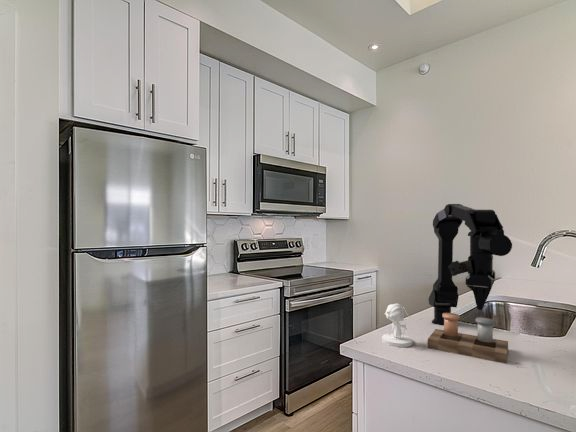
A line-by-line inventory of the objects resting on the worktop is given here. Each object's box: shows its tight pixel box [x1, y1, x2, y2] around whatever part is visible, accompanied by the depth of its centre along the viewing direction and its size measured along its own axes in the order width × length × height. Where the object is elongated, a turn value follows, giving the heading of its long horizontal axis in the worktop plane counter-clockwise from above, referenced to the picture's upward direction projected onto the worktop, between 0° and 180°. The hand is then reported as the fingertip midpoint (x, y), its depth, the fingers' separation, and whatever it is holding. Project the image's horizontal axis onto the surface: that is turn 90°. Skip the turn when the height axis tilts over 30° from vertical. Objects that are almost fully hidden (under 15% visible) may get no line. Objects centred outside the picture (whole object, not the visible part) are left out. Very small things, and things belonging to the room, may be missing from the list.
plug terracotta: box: [442, 312, 461, 336], centre depth 104 cm, size 5×5×6 cm
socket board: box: [427, 328, 509, 365], centre depth 102 cm, size 12×20×2 cm, turn 56°
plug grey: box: [475, 317, 496, 342], centre depth 99 cm, size 5×5×6 cm
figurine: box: [381, 303, 414, 348], centre depth 108 cm, size 9×9×12 cm
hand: (481, 306), depth 100 cm, fingers open, 9 cm apart
